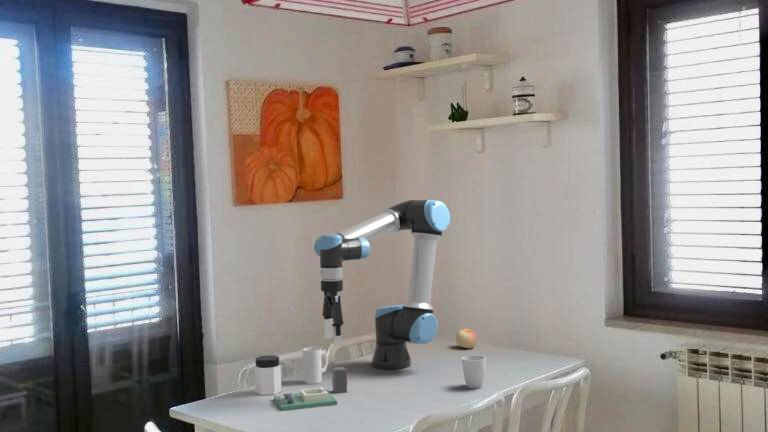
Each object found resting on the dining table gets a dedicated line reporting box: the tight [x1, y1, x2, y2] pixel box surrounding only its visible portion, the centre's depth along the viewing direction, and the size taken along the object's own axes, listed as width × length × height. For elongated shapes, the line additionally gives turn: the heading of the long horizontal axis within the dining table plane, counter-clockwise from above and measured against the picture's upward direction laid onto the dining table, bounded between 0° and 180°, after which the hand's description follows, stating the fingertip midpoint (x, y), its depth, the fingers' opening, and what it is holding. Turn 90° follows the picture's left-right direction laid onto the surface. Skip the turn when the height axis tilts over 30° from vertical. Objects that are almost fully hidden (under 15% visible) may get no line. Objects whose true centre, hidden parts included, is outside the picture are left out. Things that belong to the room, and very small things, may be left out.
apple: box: [455, 328, 478, 349], centre depth 344 cm, size 9×9×8 cm
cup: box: [461, 354, 487, 389], centre depth 282 cm, size 8×8×10 cm
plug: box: [331, 366, 348, 395], centre depth 279 cm, size 5×4×8 cm
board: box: [273, 386, 338, 412], centre depth 267 cm, size 18×14×4 cm
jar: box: [253, 354, 282, 396], centre depth 280 cm, size 9×8×12 cm
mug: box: [302, 346, 329, 385], centre depth 294 cm, size 10×7×12 cm, turn 127°
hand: (333, 341), depth 279 cm, fingers open, 13 cm apart
